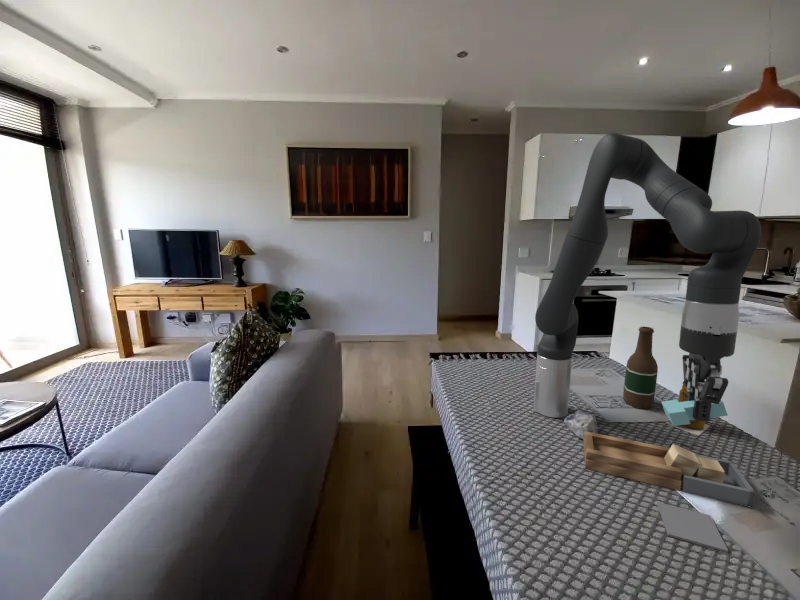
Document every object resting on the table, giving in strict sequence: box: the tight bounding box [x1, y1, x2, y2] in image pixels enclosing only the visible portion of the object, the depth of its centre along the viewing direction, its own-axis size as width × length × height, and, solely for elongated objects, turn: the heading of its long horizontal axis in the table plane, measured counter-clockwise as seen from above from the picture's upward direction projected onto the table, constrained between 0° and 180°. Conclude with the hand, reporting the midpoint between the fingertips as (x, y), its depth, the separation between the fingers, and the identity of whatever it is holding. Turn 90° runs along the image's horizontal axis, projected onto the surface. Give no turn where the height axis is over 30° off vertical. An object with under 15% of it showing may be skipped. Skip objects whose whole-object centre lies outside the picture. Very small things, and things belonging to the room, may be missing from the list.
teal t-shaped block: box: [661, 399, 728, 427], centre depth 65 cm, size 2×5×8 cm
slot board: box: [582, 431, 682, 491], centre depth 78 cm, size 17×10×4 cm, turn 65°
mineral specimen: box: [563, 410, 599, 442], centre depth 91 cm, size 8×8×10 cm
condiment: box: [665, 381, 711, 437], centre depth 93 cm, size 7×8×12 cm
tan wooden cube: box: [664, 443, 700, 477], centre depth 74 cm, size 4×4×4 cm
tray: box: [680, 453, 756, 508], centre depth 72 cm, size 11×10×3 cm
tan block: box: [693, 456, 725, 483], centre depth 72 cm, size 4×4×4 cm
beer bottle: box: [622, 326, 659, 410], centre depth 104 cm, size 8×8×24 cm
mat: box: [656, 501, 729, 554], centre depth 62 cm, size 8×8×1 cm
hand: (697, 415), depth 65 cm, fingers closed on teal t-shaped block, 2 cm apart
